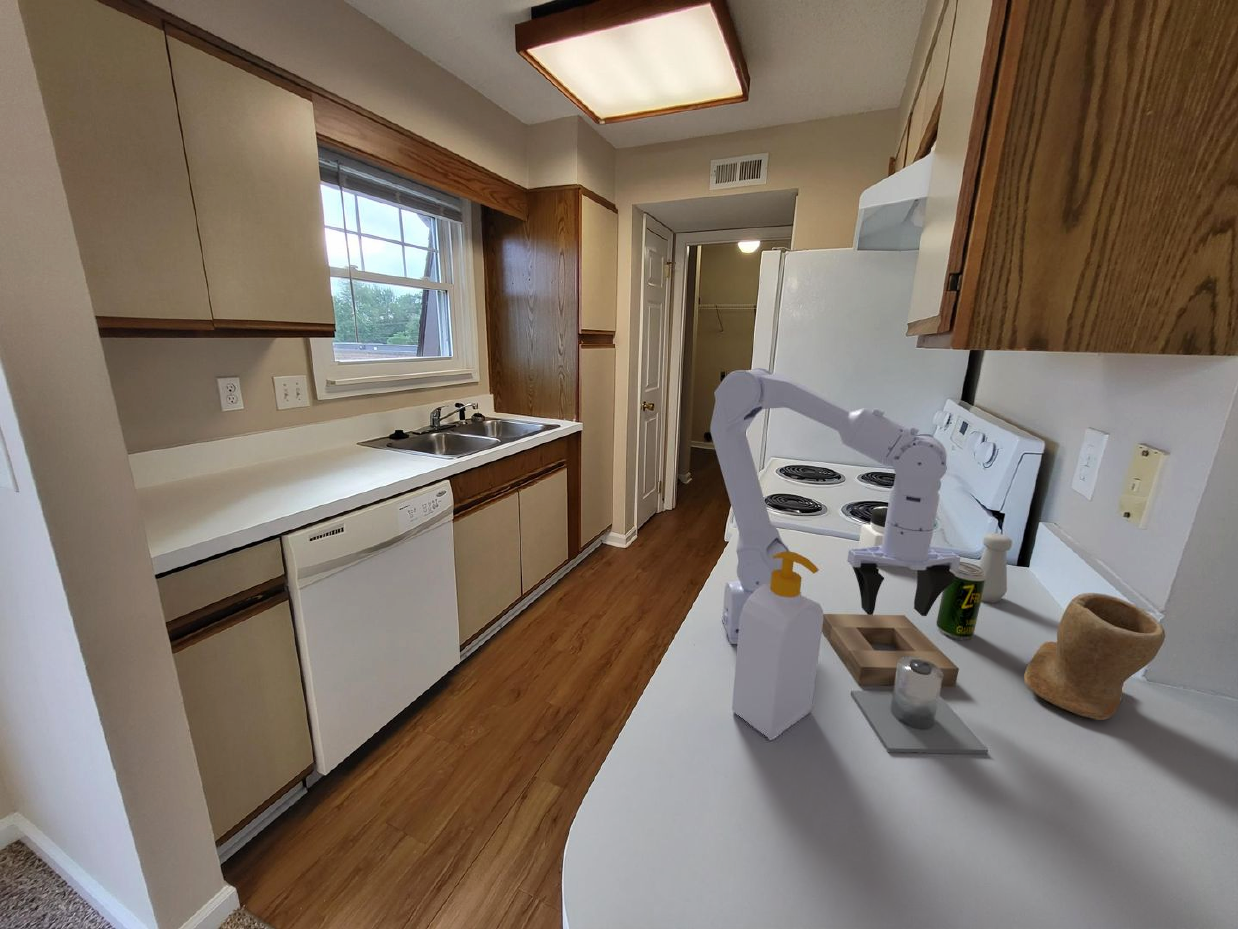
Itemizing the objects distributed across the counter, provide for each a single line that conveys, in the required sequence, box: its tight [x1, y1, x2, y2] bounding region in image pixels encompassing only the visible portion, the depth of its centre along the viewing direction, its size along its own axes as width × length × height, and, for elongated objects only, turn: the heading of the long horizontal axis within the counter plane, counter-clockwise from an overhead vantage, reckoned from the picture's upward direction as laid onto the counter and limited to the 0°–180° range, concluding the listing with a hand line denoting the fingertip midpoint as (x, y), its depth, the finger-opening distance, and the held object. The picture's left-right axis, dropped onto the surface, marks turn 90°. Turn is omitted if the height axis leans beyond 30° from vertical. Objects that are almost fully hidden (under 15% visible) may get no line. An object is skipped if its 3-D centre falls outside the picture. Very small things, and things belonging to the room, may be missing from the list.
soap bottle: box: [731, 550, 824, 740], centre depth 62 cm, size 9×7×23 cm
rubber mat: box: [850, 690, 989, 755], centre depth 64 cm, size 12×10×1 cm
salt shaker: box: [977, 532, 1013, 604], centre depth 95 cm, size 6×6×13 cm
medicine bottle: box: [857, 506, 888, 549], centre depth 111 cm, size 7×7×12 cm
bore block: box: [822, 613, 960, 687], centre depth 77 cm, size 14×14×3 cm
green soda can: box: [936, 561, 986, 641], centre depth 83 cm, size 5×5×12 cm
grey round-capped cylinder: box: [890, 657, 943, 730], centre depth 64 cm, size 5×5×8 cm
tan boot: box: [1023, 592, 1166, 721], centre depth 68 cm, size 15×12×15 cm
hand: (893, 611), depth 71 cm, fingers open, 7 cm apart
